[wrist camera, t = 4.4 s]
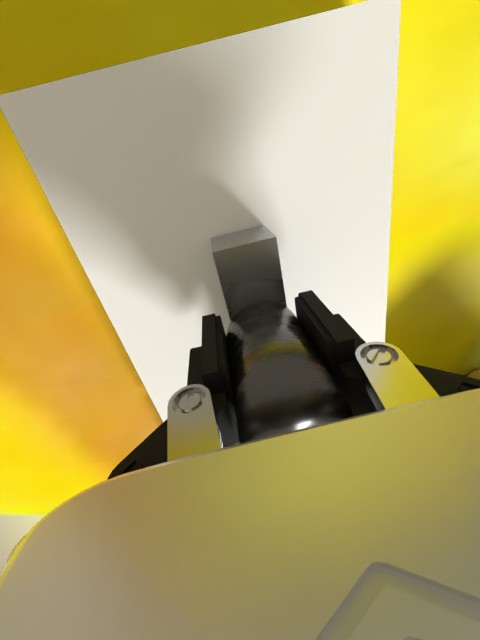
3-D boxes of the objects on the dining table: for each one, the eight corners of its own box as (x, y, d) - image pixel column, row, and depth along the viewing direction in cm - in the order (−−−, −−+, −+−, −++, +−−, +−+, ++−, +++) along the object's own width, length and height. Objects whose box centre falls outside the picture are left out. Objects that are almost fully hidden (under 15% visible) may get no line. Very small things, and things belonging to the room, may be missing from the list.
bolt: (273, 222, 12) (349, 283, 6) (301, 411, 18) (356, 547, 12) (201, 240, 12) (198, 320, 6) (253, 423, 18) (281, 564, 12)
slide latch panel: (358, 31, 12) (472, -72, 7) (360, 438, 25) (400, 507, 20) (40, 112, 12) (-81, 70, 7) (208, 475, 25) (209, 552, 20)
